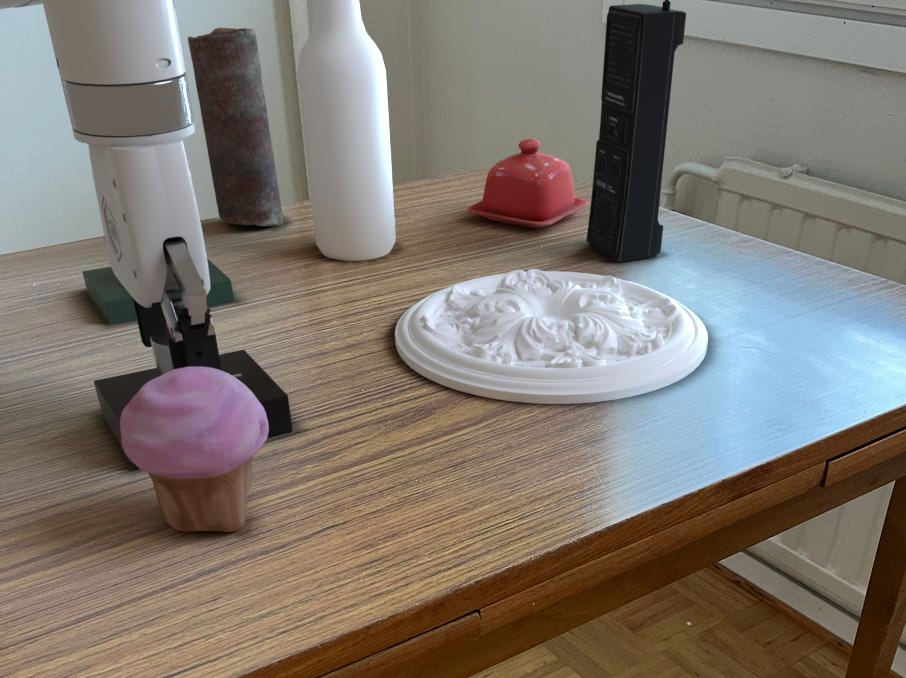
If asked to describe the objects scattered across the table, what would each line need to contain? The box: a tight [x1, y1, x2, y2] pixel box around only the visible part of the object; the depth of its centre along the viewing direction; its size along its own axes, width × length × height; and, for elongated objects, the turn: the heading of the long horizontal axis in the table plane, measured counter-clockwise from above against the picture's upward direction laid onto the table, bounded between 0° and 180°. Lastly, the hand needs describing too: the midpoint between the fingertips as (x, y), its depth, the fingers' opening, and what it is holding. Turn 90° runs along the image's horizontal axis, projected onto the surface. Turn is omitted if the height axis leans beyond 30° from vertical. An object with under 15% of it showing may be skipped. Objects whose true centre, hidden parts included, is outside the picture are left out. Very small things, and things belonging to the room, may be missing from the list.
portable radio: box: [585, 0, 687, 263], centre depth 100 cm, size 8×6×25 cm
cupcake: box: [120, 367, 269, 533], centre depth 62 cm, size 9×9×10 cm
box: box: [81, 257, 235, 326], centre depth 96 cm, size 12×10×4 cm
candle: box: [187, 27, 284, 228], centre depth 110 cm, size 8×7×20 cm
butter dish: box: [466, 138, 590, 229], centre depth 115 cm, size 12×12×8 cm
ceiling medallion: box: [394, 268, 709, 405], centre depth 88 cm, size 28×28×3 cm
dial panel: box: [93, 349, 294, 471], centre depth 75 cm, size 12×10×3 cm
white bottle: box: [297, 0, 397, 262], centre depth 99 cm, size 9×9×30 cm
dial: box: [150, 323, 173, 376], centre depth 72 cm, size 4×4×4 cm
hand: (182, 365), depth 73 cm, fingers open, 9 cm apart
